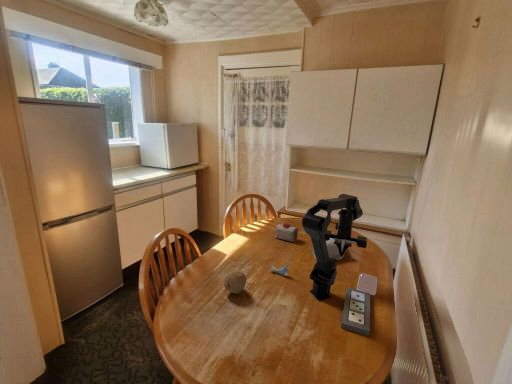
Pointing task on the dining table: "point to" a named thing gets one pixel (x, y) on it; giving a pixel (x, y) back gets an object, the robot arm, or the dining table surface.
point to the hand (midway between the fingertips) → (341, 256)
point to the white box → (286, 232)
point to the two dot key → (356, 318)
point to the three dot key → (356, 306)
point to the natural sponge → (235, 281)
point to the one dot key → (358, 296)
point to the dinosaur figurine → (281, 271)
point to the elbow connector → (332, 250)
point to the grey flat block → (352, 326)
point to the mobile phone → (367, 283)
